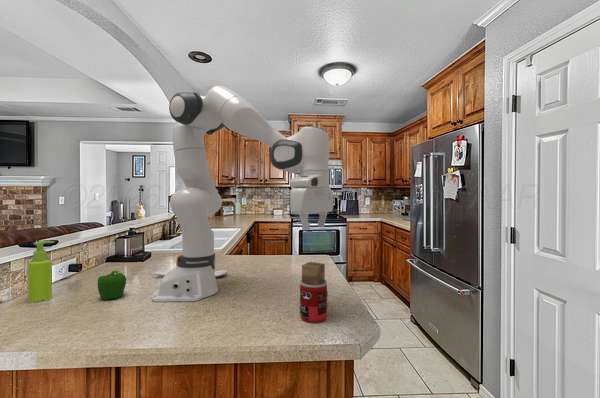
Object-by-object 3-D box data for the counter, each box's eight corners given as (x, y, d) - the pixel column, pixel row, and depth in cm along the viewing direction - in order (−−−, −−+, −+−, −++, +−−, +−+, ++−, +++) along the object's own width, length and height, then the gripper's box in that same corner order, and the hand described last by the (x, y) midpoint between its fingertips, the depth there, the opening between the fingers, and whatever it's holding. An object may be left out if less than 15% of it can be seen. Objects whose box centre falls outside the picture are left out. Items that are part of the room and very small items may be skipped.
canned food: (298, 312, 85) (299, 277, 85) (324, 312, 86) (324, 277, 86) (301, 324, 78) (301, 285, 78) (328, 323, 78) (329, 285, 78)
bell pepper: (95, 297, 97) (94, 269, 97) (122, 291, 103) (121, 265, 103) (100, 304, 91) (100, 274, 91) (128, 297, 97) (128, 269, 97)
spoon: (161, 273, 128) (161, 266, 128) (229, 274, 127) (229, 266, 127) (150, 279, 119) (150, 271, 119) (223, 280, 118) (223, 272, 118)
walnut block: (316, 285, 78) (316, 267, 78) (301, 282, 81) (301, 265, 81) (324, 280, 82) (324, 263, 82) (310, 277, 85) (310, 261, 85)
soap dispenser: (58, 296, 97) (58, 240, 97) (33, 303, 91) (33, 243, 91) (50, 294, 100) (49, 239, 100) (24, 300, 94) (24, 242, 93)
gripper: (320, 183, 92) (320, 224, 92) (286, 180, 74) (285, 231, 75) (338, 183, 88) (337, 225, 89) (306, 179, 71) (305, 232, 71)
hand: (313, 228), depth 81 cm, fingers open, 8 cm apart
